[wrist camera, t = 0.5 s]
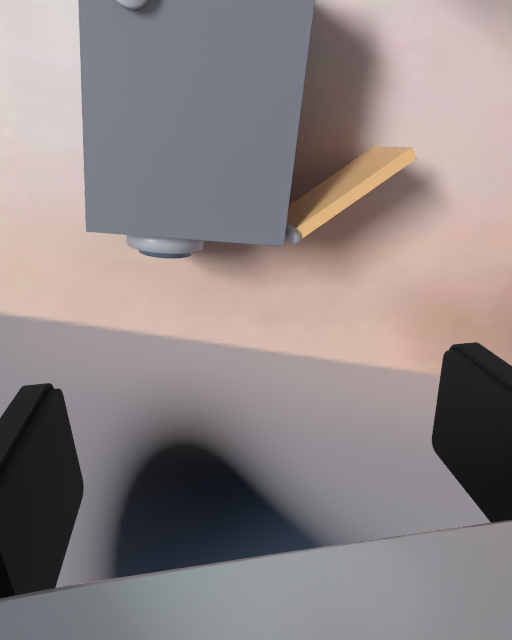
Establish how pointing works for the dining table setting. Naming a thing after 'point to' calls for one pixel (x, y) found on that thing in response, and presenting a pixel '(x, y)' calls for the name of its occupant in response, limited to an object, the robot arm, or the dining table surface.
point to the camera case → (191, 119)
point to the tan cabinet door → (344, 189)
